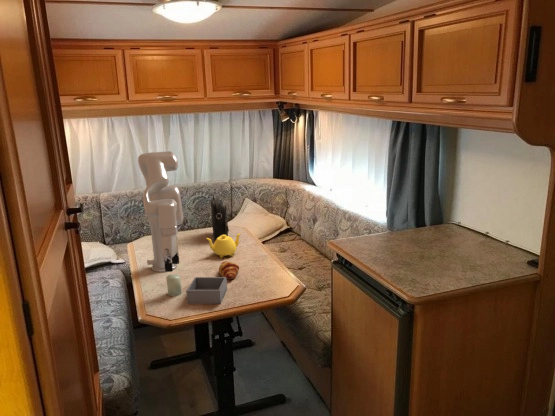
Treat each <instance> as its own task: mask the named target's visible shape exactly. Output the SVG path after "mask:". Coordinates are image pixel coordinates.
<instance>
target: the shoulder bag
mask: <svg viewBox="0 0 555 416" xmlns="http://www.w3.org/2000/svg"><path fill="white" fill-rule="evenodd" d="M212 198H213V199H212V200H211V201H210V208H211V209H210V210H211V224H212V232H210V235H211V237H212V239H213V242H215V241H216V239H217V238H218V237H220V236H222V235H226V236H229V231H230V229H229V226H228V224H229V223H228V215H227V204H226V203H225V201H224V200H223V199H220V196H219V193H213V194H212Z"/></svg>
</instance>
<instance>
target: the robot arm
mask: <svg viewBox="0 0 555 416" xmlns="http://www.w3.org/2000/svg"><path fill="white" fill-rule="evenodd" d="M137 162H138V167H139V169H140V171H141V174H142V175H143V177H144V180H145V185H146V187H145V189H144V191H143V193H142V195H143V196H142V202H143V208H144V213H145V215H146V216H147V221H148V223H149V224H148V225H149V228H150V235H151V241H152V242H151V243H152V253H153V258H152V259H147V260H146V263H147V265H149V266H151V265H152V266H151V270H152V271H154V272H158V273H165V272H166V273H168V272H169V273H173V270H175V269H176V268H177V265H179V264H180V257H179V256H180V254H179V241H178V233H179V231H178V226H180V225H183V223H184V213H183V205H182V198H181V193H180V189H179V188H178V187H177V186H175V185H169V183H170V181H169V177H168V172H174V171H177V170H178V167H179V161H178V158H177V156H176V154H175V153H174V152H172V151H168V150H167V151H153V152H145V153H142V154H140V155H139V156H138V158H137ZM168 185H169V186H168Z"/></svg>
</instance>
